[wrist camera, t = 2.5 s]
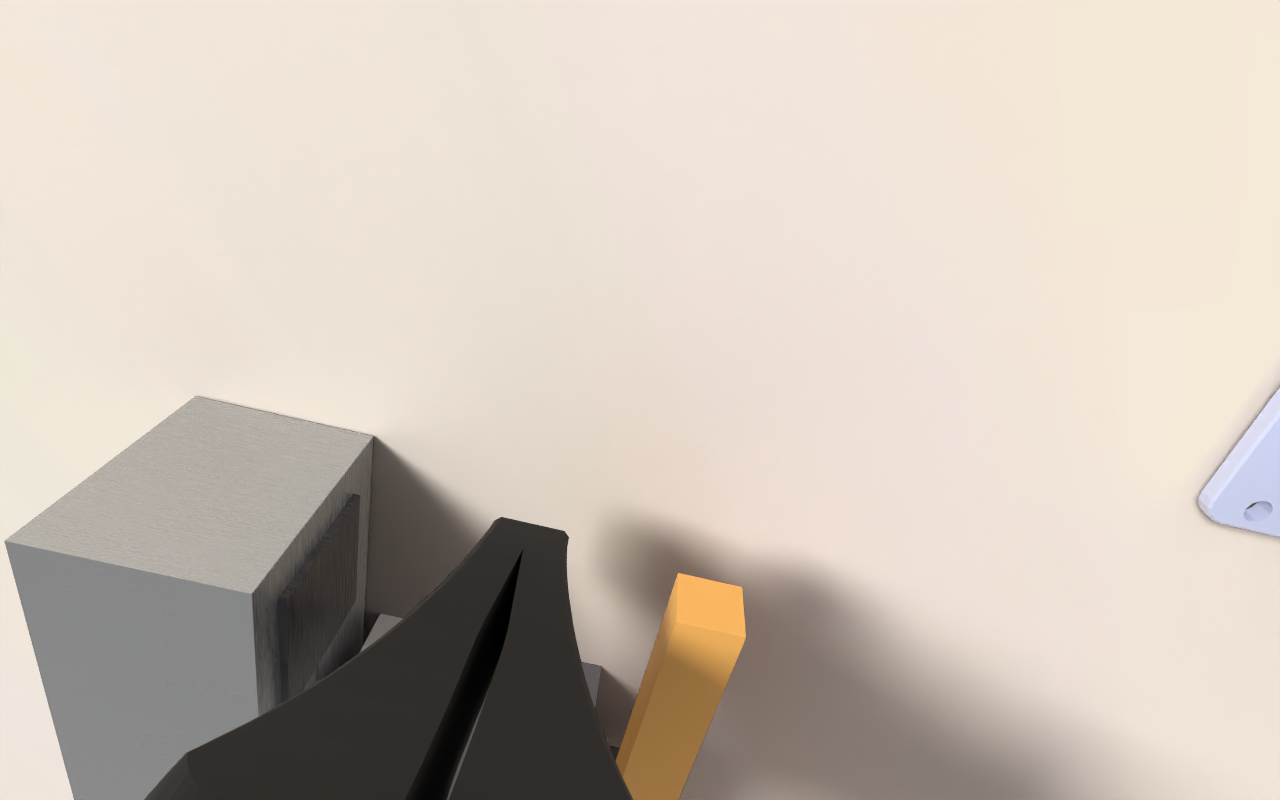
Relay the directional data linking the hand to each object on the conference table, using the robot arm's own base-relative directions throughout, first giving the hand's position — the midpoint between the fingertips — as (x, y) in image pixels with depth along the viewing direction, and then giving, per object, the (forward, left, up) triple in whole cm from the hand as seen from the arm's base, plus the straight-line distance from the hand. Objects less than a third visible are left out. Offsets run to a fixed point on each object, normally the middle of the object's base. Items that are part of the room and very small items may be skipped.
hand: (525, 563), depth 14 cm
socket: (+6, +8, -3) cm, 10 cm away
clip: (-3, +8, 0) cm, 9 cm away
